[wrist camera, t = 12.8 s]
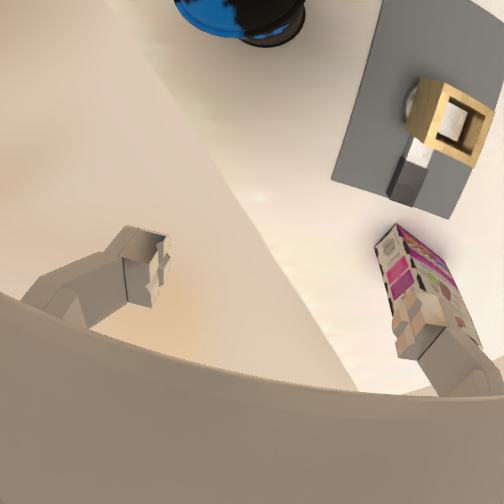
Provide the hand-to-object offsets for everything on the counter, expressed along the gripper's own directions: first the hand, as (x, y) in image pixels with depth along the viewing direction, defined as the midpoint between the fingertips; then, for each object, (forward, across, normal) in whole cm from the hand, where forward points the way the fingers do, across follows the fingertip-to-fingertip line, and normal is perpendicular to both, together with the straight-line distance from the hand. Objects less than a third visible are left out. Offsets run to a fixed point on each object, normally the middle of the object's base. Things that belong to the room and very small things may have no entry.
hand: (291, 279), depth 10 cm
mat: (+27, -14, -8) cm, 31 cm away
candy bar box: (+27, -20, +14) cm, 36 cm away
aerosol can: (+27, +6, -11) cm, 30 cm away
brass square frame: (+24, -14, -6) cm, 29 cm away
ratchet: (+26, -14, -2) cm, 30 cm away
